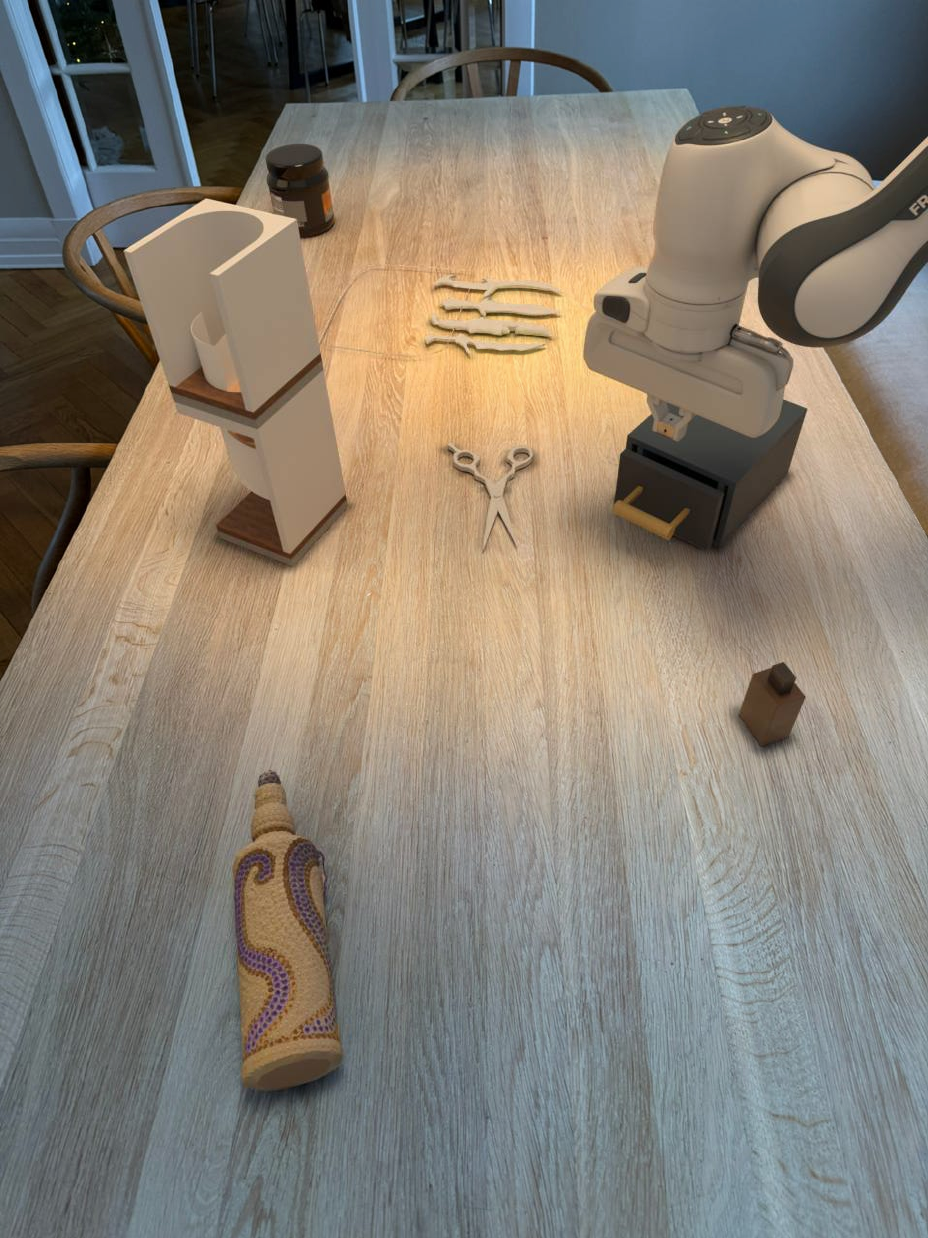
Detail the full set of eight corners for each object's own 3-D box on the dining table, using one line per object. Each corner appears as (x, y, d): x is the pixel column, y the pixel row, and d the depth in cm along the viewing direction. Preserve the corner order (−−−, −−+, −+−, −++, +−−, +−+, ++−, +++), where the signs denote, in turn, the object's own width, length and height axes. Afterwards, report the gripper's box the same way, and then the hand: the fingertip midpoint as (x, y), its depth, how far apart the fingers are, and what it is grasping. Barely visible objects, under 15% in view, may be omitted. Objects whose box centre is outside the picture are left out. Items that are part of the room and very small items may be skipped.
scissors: (530, 437, 113) (547, 545, 100) (530, 442, 114) (547, 550, 100) (447, 442, 113) (454, 550, 100) (448, 447, 114) (454, 555, 100)
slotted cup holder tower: (277, 481, 111) (206, 198, 84) (348, 506, 107) (296, 218, 81) (220, 538, 104) (123, 250, 78) (293, 566, 101) (217, 275, 74)
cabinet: (719, 548, 100) (736, 483, 93) (618, 499, 106) (627, 435, 99) (787, 473, 108) (807, 408, 101) (690, 432, 114) (702, 367, 107)
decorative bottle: (353, 1076, 65) (340, 1051, 60) (252, 1100, 65) (229, 1077, 60) (319, 779, 82) (306, 740, 77) (238, 796, 81) (219, 757, 76)
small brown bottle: (788, 737, 83) (812, 683, 77) (761, 747, 83) (782, 693, 76) (765, 705, 86) (786, 650, 79) (738, 714, 85) (757, 659, 79)
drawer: (683, 576, 96) (694, 524, 90) (589, 528, 102) (594, 476, 96) (772, 479, 106) (787, 426, 100) (682, 440, 112) (691, 388, 106)
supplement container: (341, 212, 159) (331, 142, 150) (327, 240, 152) (316, 168, 143) (285, 210, 161) (272, 140, 151) (268, 238, 154) (254, 166, 145)
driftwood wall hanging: (547, 371, 124) (547, 364, 123) (311, 351, 129) (310, 344, 129) (570, 280, 140) (571, 273, 139) (360, 265, 146) (359, 259, 145)
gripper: (814, 332, 77) (776, 458, 87) (617, 262, 86) (604, 384, 96) (780, 364, 73) (745, 491, 84) (579, 289, 82) (570, 412, 93)
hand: (668, 433), depth 90 cm, fingers closed
